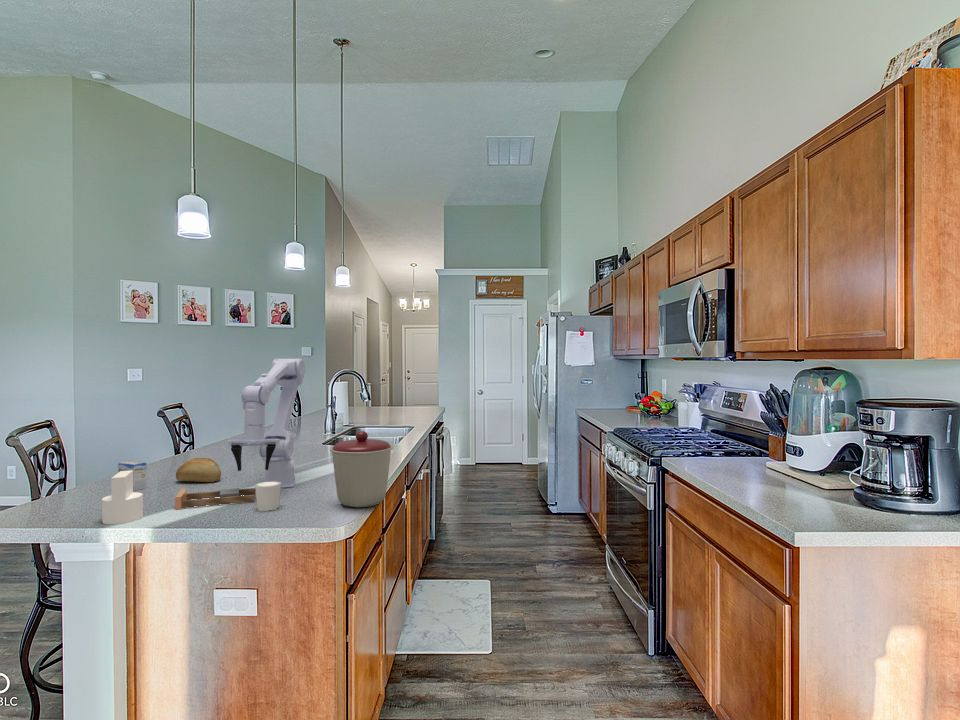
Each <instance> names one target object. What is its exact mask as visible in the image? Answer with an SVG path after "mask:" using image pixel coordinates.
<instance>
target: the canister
mask: <svg viewBox="0 0 960 720" xmlns="http://www.w3.org/2000/svg"><path fill="white" fill-rule="evenodd" d="M393 448H394V446H393V444H391V443H390V442H388V441H386V440H382V439H377V438H376V439H375V438H374V439H373V438H369V434H368V433H367V431H365V430H362V431H361V430H360V431H357V432H356V433H355V439H348V440H347V439H346V440H343V441H340V442H336V443H335V444H333V446H331V447H330V448H329V451H330V452H331V454H332V463H333V473H334V480H335V481H334V482H335V488H336V495H337V499H338V501H339V502H340V504H341V505H343V506H346V507H348V508H349V507H350V508H368V507H373V506H376V505H377V506H378V504H381V503H382V502H383V501H384V499H385V498H386V496H387V495H386V494H387V490H388V489H387V488H388V480H389V474H390V473H389V471H390V462H391V451H392V450H393Z"/></svg>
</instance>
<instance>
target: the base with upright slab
mask: <svg viewBox="0 0 960 720" xmlns="http://www.w3.org/2000/svg"><path fill="white" fill-rule="evenodd" d="M110 480H111V481H110V482H111V485H110V486H111V489H110V490H111V493H110V495H107V496H104V497H102V499H101V518H102V519H101V520H102V521H101V522H103V524H104V525H123V524H129V523H133V522H136V521H139V520H141V519H142V518H143V517H144V505H143V503H144V498H143V493H142V492H138V491H133V470H131V471H120V472H119V473H118V472H117V473H116V474H115V475H114V476H111V479H110ZM141 517H142V518H141ZM140 518H141V519H140ZM138 519H139V520H138ZM135 520H136V521H135Z"/></svg>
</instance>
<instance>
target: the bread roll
mask: <svg viewBox="0 0 960 720" xmlns="http://www.w3.org/2000/svg"><path fill="white" fill-rule="evenodd" d="M221 476H222V471H221V468H220V467H219V464H218V463H217V461H215V460H214V459H212V458H209V457H200V458H199V457H196V458H192V459H190V460H188V461H186V462H184V463H183V464H181V465H180V466H179V467H178V468H177V470H176V473H175V479H176V480H177V481H178V482H198V483H216V482H218V481H220V479H221ZM215 481H216V482H215Z"/></svg>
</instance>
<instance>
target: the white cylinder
mask: <svg viewBox="0 0 960 720" xmlns="http://www.w3.org/2000/svg"><path fill="white" fill-rule="evenodd" d="M254 488H255V489H256V495H255V497H256V507H257V510H258V511H259V510H261V511H260V512H269V510H271V511H275V510H278V509H279V507H280V498H281V497H280V496H281V483H280V482H277V481H269V482H265V481H262V482H258V483H255V485H254ZM277 508H278V509H277ZM274 509H275V510H274Z"/></svg>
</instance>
